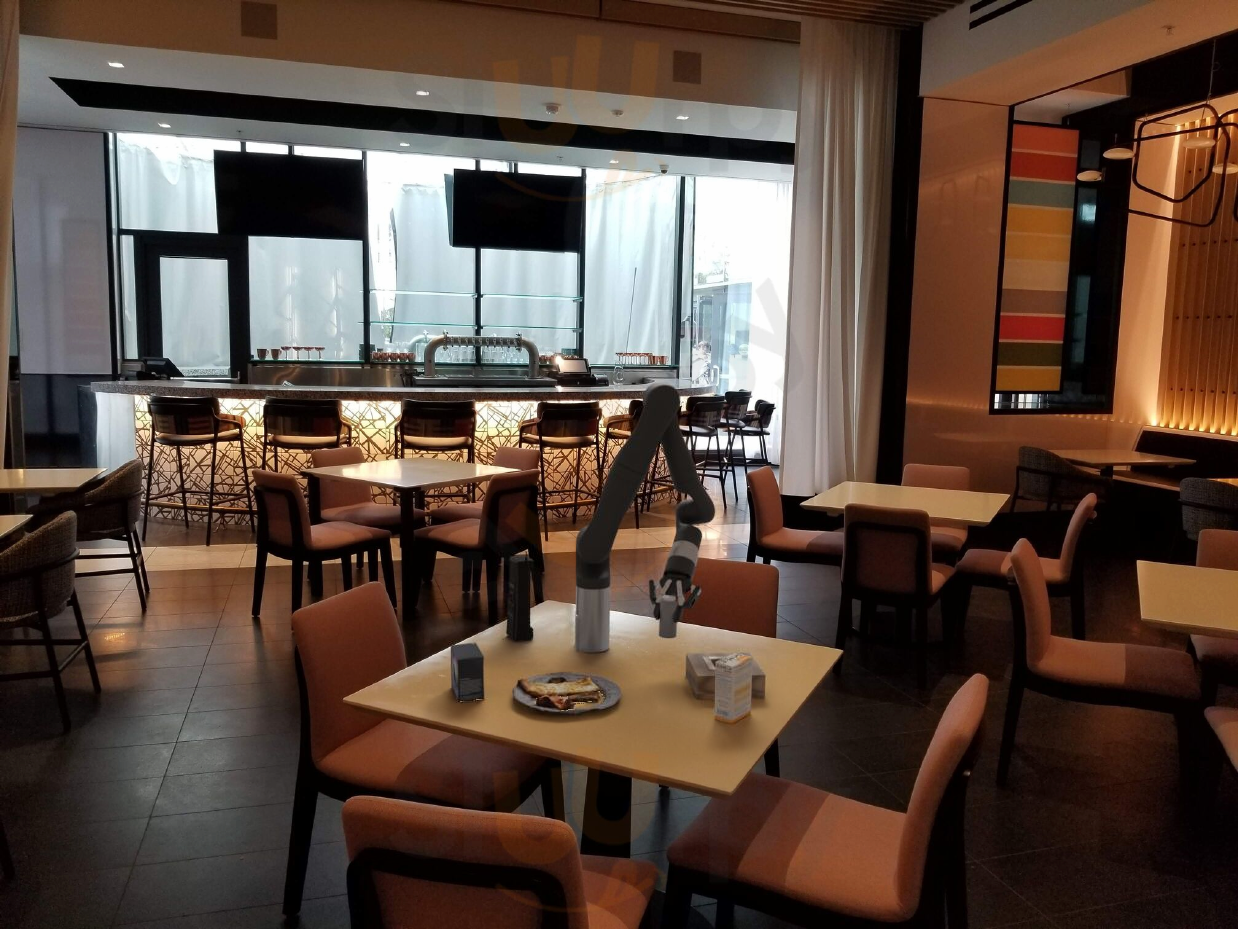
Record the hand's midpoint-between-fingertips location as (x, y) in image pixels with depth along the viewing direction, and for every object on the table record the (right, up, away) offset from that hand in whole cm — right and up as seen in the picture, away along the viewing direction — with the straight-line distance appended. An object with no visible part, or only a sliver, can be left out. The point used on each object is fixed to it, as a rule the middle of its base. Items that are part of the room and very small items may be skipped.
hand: (666, 619), depth 223 cm
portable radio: (-40, -10, +29) cm, 50 cm away
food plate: (-24, -16, -16) cm, 33 cm away
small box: (-47, -15, -14) cm, 51 cm away
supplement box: (+13, -17, -25) cm, 33 cm away
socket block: (+14, -15, -7) cm, 21 cm away
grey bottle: (0, -4, +2) cm, 5 cm away
